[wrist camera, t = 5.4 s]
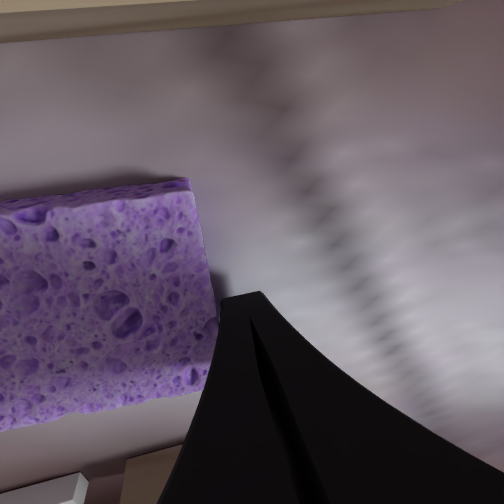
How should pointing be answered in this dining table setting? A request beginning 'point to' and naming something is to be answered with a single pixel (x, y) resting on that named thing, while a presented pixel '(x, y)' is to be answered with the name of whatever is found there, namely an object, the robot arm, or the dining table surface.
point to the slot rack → (155, 19)
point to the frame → (50, 492)
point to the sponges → (102, 301)
